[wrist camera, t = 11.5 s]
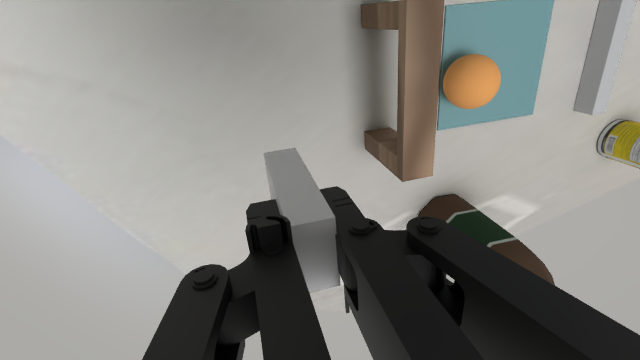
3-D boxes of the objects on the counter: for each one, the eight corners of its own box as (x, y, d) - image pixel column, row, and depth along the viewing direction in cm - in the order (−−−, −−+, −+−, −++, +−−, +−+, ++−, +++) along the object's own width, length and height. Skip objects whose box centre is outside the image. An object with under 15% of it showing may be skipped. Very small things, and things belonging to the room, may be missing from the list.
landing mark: (445, 5, 35) (446, 5, 35) (553, -5, 37) (555, -5, 37) (437, 129, 40) (438, 130, 40) (531, 113, 43) (532, 114, 43)
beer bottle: (430, 186, 44) (626, 341, 22) (476, 198, 46) (690, 346, 25) (405, 238, 46) (561, 421, 25) (450, 246, 49) (625, 418, 28)
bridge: (364, 148, 39) (402, 181, 31) (361, 5, 33) (406, -1, 25) (389, 144, 40) (432, 175, 32) (390, 2, 33) (444, -4, 25)
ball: (515, 56, 32) (495, 51, 37) (453, 57, 33) (442, 51, 38) (502, 115, 34) (485, 102, 39) (445, 114, 35) (435, 102, 40)
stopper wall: (603, -14, 38) (626, -17, 36) (617, -16, 39) (641, -18, 36) (573, 110, 44) (592, 115, 42) (586, 108, 45) (605, 112, 43)
